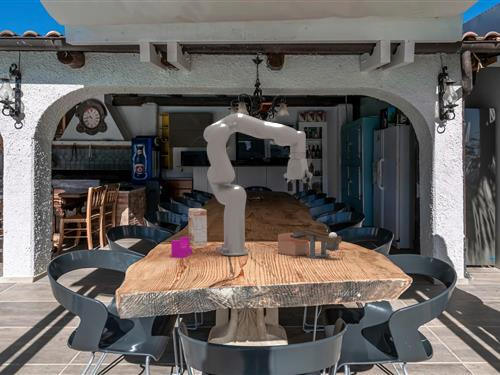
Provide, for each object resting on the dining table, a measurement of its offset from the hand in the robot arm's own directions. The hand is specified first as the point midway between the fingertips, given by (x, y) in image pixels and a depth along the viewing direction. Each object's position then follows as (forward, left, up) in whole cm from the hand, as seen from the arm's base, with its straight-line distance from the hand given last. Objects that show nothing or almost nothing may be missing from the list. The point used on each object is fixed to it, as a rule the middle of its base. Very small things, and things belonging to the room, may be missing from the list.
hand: (297, 191), depth 233 cm
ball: (-14, -31, -19) cm, 39 cm away
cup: (-14, -9, -29) cm, 33 cm away
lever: (-14, -23, -20) cm, 34 cm away
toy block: (-51, +25, -29) cm, 64 cm away
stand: (-14, -23, -29) cm, 39 cm away
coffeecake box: (-29, +43, -29) cm, 59 cm away
